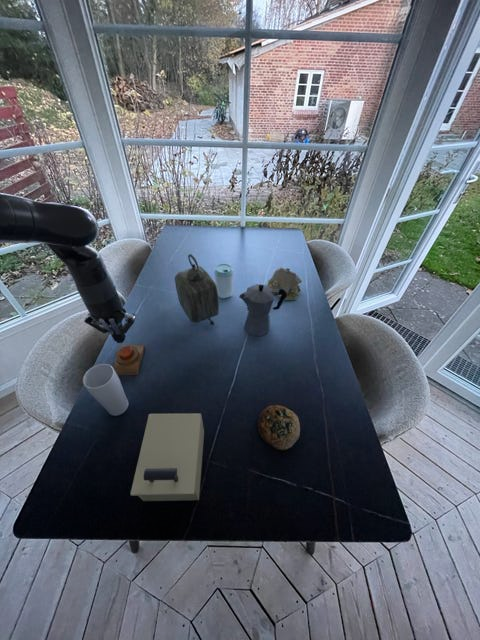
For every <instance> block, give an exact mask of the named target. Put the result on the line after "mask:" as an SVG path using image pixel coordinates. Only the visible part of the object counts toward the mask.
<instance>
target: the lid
mask: <svg viewBox="0 0 480 640" xmlns="http://www.w3.org/2000/svg"><path fill="white" fill-rule="evenodd" d="M201 416H202V413H149V414H148V417H147V421H146V426H145V430H144V435H143V439H142V442H141V446H140V451H139V456H138V459H137V464H136V468H135V473H134V477H133V480H132V485H131V489H130V494H129V495H130V496H131V497H134V496H135V497H137V496H138V497H139V496H145V495H194V493H195V482H196V470H197V459H198V448H199V436H200V425H201Z"/></svg>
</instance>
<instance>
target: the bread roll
mask: <svg viewBox="0 0 480 640" xmlns="http://www.w3.org/2000/svg"><path fill="white" fill-rule="evenodd" d="M299 420H300V419H299V416H298V415H297V414H296V413H295V412H294V411H293V410H291V409H289V408H287V407H286V406H283V405H279V404H275V405H268V406H267V407H266V408H264V409H263V410H262V411H261V412H260V414H259V416H258V418H257V426H256V428H257V432H258V434H259V437H261V439H262V440H263V441H264V442H265V443H267V444H268V445H269V446H271V447H273V448H275V449H276V450H280V451H285V450H286V451H287V450H288V449H291V448H292V447H293V446H294V445H295V444H296V442H297V441H298V440H299V438H300V435H301V423H300V421H299Z"/></svg>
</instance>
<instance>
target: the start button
mask: <svg viewBox="0 0 480 640" xmlns="http://www.w3.org/2000/svg"><path fill="white" fill-rule="evenodd" d="M119 354H120V356H121V358H122V359H124V360H127V359H130V358H131V357H132V356H133V354H134V353H133V350H132V348H131V347H123V348H122V349H121V350H120V351H119Z"/></svg>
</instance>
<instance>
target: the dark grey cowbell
mask: <svg viewBox="0 0 480 640" xmlns="http://www.w3.org/2000/svg"><path fill="white" fill-rule="evenodd" d="M187 257H188V261H189V264H190V267H191V268H188V269H185V270H182V271H179V272H178V273H176V275H175V276H174V283H175V290H176V294H177V299H178V302H179V305H180V306H181V308H182V309H183V311H184V313H185V315H186V316H187V318H188V319H189V321H191V322H192V323H201V322H203V321H206V320H208V321H209V324H210V325H211V326H214V325H215V324H216V322H215V320H213V319H212V318H213V317H217V316H219V311H220V310H219V308H220V307H219V306H220V305H219V297H218V293H217V288H216V285H215V282H214V279H213V278H212V277H211V276H210V274H209V273H208V272H207V271H206V270H205V269H204V268H203V267H202V266H201V265H199V264H198V261H197V259H196V257H194V255H193V254H192V253H188V256H187ZM192 260H193V262H194V263H193V262H192Z"/></svg>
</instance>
